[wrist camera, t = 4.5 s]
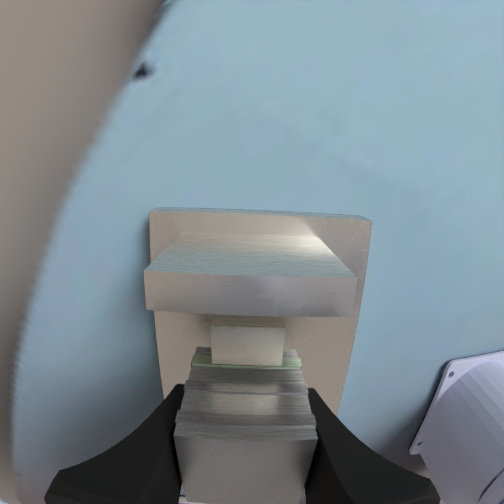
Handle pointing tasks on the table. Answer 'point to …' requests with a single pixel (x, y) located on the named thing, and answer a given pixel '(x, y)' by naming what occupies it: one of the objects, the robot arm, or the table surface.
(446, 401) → the robot arm
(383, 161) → the table surface
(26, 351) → the table surface
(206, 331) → the stand frame
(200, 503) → the supplement bottle
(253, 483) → the grey stacked block
